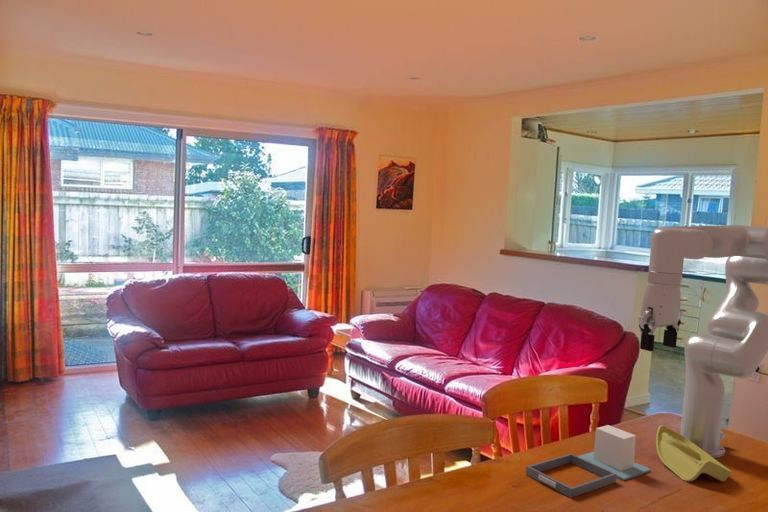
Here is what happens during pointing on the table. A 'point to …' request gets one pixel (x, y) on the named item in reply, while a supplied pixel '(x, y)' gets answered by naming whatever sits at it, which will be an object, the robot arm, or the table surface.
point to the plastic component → (686, 457)
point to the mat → (623, 474)
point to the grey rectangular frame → (535, 473)
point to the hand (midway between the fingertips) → (658, 348)
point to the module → (614, 447)
